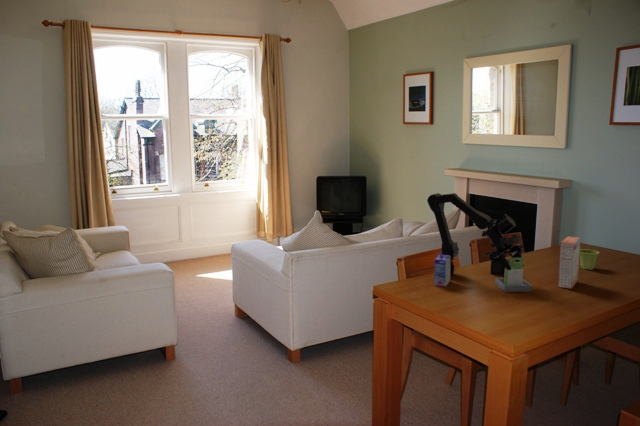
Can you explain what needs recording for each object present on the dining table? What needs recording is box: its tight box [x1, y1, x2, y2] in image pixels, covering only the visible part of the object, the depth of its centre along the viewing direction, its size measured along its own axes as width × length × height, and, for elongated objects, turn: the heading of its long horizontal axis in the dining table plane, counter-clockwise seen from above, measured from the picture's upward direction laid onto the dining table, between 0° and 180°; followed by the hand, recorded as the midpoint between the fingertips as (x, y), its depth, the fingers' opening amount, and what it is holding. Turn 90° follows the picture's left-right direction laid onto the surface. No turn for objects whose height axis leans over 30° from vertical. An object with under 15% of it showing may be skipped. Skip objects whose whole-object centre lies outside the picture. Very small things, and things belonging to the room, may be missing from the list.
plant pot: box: [579, 248, 600, 271], centre depth 272 cm, size 9×9×9 cm
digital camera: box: [490, 258, 515, 276], centre depth 262 cm, size 10×5×7 cm, turn 75°
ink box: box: [503, 256, 525, 285], centre depth 241 cm, size 7×4×13 cm, turn 94°
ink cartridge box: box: [434, 250, 451, 287], centre depth 247 cm, size 10×6×14 cm, turn 155°
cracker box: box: [558, 235, 581, 290], centre depth 244 cm, size 14×6×21 cm, turn 145°
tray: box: [494, 277, 533, 293], centre depth 242 cm, size 12×12×2 cm
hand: (517, 268), depth 239 cm, fingers open, 9 cm apart
